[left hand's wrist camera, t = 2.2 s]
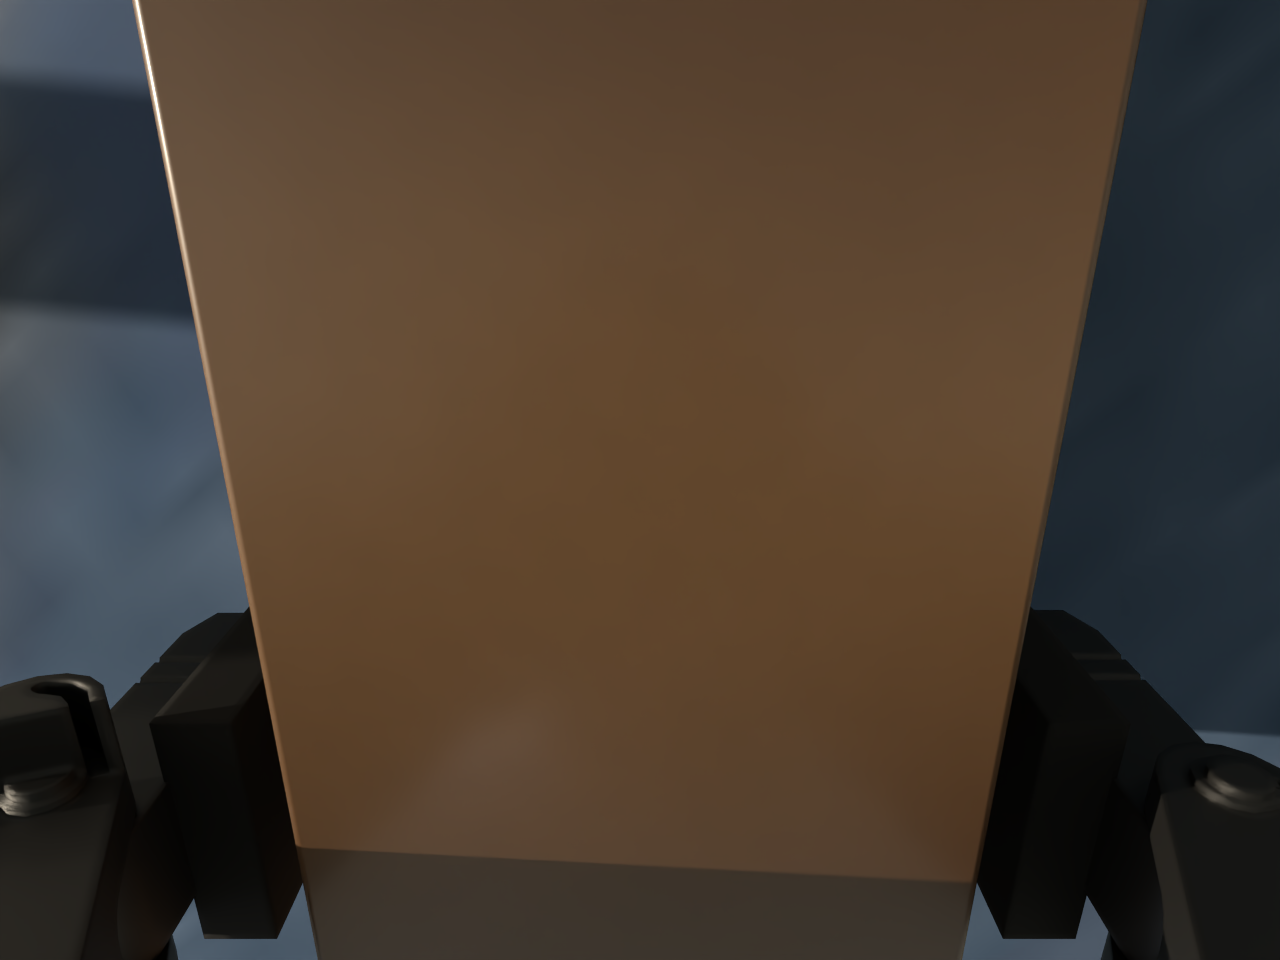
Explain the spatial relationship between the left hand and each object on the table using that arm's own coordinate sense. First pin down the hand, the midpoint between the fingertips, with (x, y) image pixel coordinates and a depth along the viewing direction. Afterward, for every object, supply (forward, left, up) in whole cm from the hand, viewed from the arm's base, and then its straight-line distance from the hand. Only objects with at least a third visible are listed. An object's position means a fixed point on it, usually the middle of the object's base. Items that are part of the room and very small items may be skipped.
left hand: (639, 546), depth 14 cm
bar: (+6, +6, -1) cm, 8 cm away
